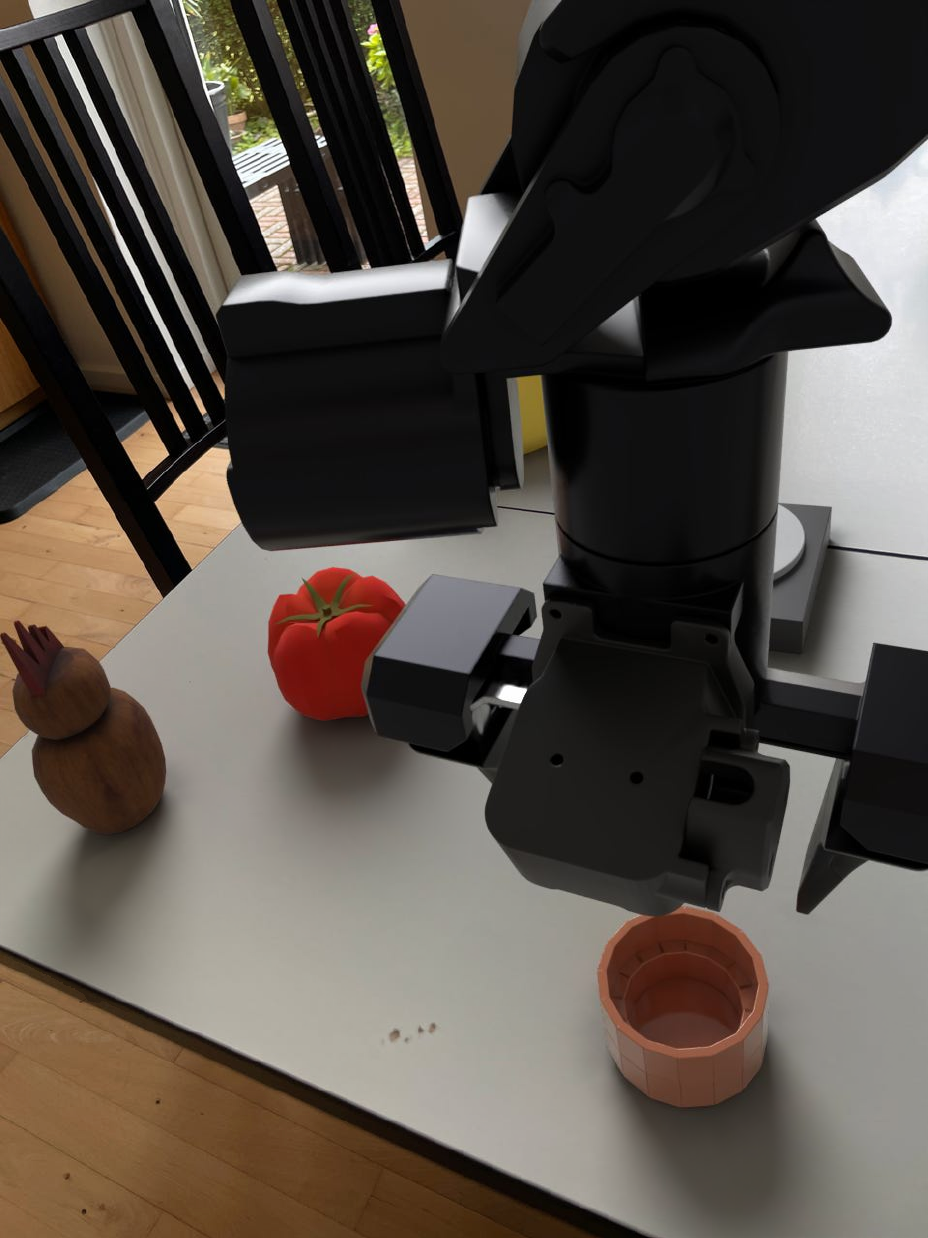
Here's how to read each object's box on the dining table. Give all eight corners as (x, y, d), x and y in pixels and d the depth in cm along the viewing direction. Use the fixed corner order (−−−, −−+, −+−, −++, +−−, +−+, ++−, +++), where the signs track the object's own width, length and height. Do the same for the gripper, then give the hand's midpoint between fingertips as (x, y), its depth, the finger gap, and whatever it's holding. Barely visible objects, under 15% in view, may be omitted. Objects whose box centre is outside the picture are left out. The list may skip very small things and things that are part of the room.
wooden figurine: (136, 860, 56) (15, 661, 46) (55, 843, 58) (-76, 649, 48) (198, 769, 60) (99, 572, 51) (121, 757, 62) (13, 566, 53)
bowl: (778, 987, 43) (780, 928, 41) (749, 1136, 39) (749, 1081, 36) (630, 948, 46) (623, 890, 43) (587, 1083, 42) (576, 1028, 39)
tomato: (348, 629, 69) (319, 540, 64) (451, 665, 64) (428, 571, 59) (254, 717, 63) (215, 627, 59) (359, 763, 58) (326, 669, 54)
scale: (829, 537, 67) (832, 498, 65) (801, 654, 59) (803, 613, 57) (654, 522, 72) (652, 485, 70) (606, 628, 64) (602, 590, 62)
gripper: (197, 638, 24) (338, 985, 34) (1080, 819, 17) (936, 1196, 27) (401, 416, 32) (468, 752, 41) (1074, 474, 24) (963, 867, 34)
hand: (670, 868), depth 36 cm, fingers open, 9 cm apart
